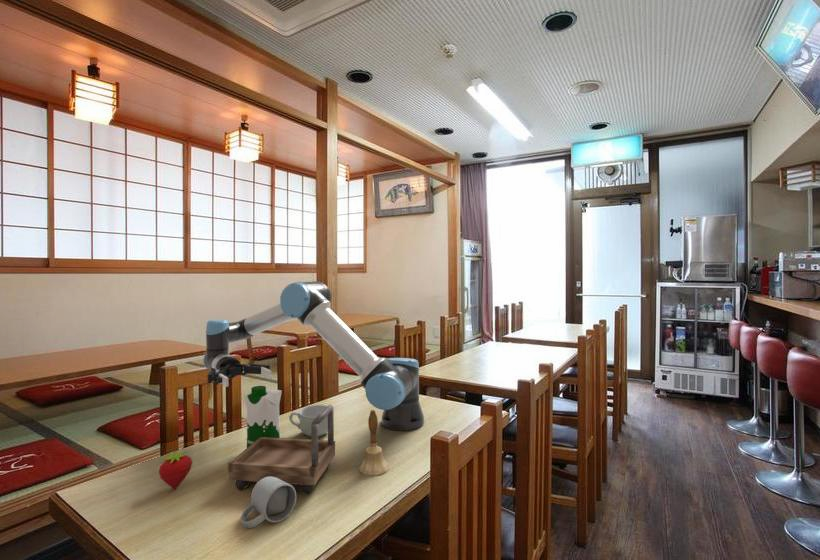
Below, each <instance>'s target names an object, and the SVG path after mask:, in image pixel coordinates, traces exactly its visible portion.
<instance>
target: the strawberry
mask: <svg viewBox="0 0 820 560" xmlns="http://www.w3.org/2000/svg"><path fill="white" fill-rule="evenodd" d="M176 451H177V449H175V450H174V451H173V453H175V452H176ZM184 453H185V451H184V452H181V453H177V452H176V453H175V454H168V457H166V458H164V459H163V460H162V461H163V462H162V463H161V465H160V466H159V470H158V474H159V476H160V479H161V480H162V481H163V482H164V483H165V484H166V485H168V486H169V487H170V488H172V489H177V488H179V487H180V485H181V484H182V482H183V481H185V479H186V477H187V476H188V474H189V473H190V471H191V469H192V464H193V461H192V458H191V457H190V456H188V455H187V454H184Z"/></svg>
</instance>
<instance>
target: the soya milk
mask: <svg viewBox="0 0 820 560" xmlns="http://www.w3.org/2000/svg"><path fill="white" fill-rule="evenodd" d="M281 396H282V390H280V389H272V388H267V387H266V386H265V385H256V386H252V387H251V391H250V392H248V393H246V394H244V395H243V397H244V402H245V406H246V448H248V447H249V446H250V445H251V444H253V443H254V442H255V441H256V440H257V439H259V438H260V437H268V438H281V436H280V402H281Z"/></svg>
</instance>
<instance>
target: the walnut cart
mask: <svg viewBox="0 0 820 560" xmlns="http://www.w3.org/2000/svg"><path fill="white" fill-rule="evenodd" d="M326 406H327V407H326V408H325V409H324V410H323V411H322V412H321V413H320V414H319V415H318V416H317V417H316V418H315V419H314V420H313V421H312V424H311V437H310V438H311V439H304V438H285V437H284V438H282V437H280V438H268V437H260V438H259V439H257V440H256V441H255V442H254V443H253V444H251V445H250V446H249V447H248V448H247V447H246V448H245V449H244V450H242V451H241V452H240V453H239V454H238V455H236V457H234V458H233V459H232V460H231V461H229V462H228V463H227V472H228V475H227V477H228V478H227V480H228V481H234V486H235V488H236V489H238V490H240V491H242V490H244V489H246V488H247V487H248V486H249V484H250V482H256V483H257V482H258V481H259V480H261V479H262V478H265V477H269V476H270V477H276V478H278V479H280V480H282V481H284V482H286V483H288V484H290V485H300V491H301V492H302V493H303V494H304V495H310V494H311V493H312V492H313V490H314V489H315V486H316V484H317V482H318V481H319V479H320V478H321V477H322V475H323V474H324V472H325V471H326V470H328V468H330V465H331V462H332V461H333V459H334V458H335V457H336V440H334V439H335V438H334V437H335V435H334V434H335V433H334V432H335V431H334V429H335V428H334V426H335V423H334V421H335V419H334V413H335V412H334V411H335V410H334V408H335V407H334V406H333V405H332V404H328V405H326ZM327 415H328V432H327V440H325V439H324V440H323V439H322V440H321V439H319V437H318V425H319V424H320V422H321V421H322V420H323V419H324V418H325V417H326V416H327Z"/></svg>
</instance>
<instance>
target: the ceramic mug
mask: <svg viewBox="0 0 820 560" xmlns="http://www.w3.org/2000/svg"><path fill="white" fill-rule="evenodd" d="M250 501H251V503H250V504H249V505H248V506H247V507H245V509H244V510H243V511H242V513H241V516H240V520H241V523H242V525H243V527H244V528H246V529H251V528H255V527H256V526H258V525H259V524H260V523H262V522H263V521H265V520H267V521H268V522H270V523H280V522H282V521H284V520H285V519H287V518H288V517H289V516H290V514H292V512H293V510H294V508H295V505H296V503H297V492H296V489H295V487H294V486H293V484H288V483H286V482H284V481H282V480H280V479H278V478H276V477H270V476H269V477H265V478H262V479H261V480H259V481H258V482H256V483H255V485H254V487H253V488H252V490H251V495H250ZM254 509H255V510H256V511H257V512H259V515H257V516H256V517H255V518H253V519H251V520H248V521H247V518H248V516H249V514H250V513H251V512H252V511H254Z"/></svg>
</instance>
